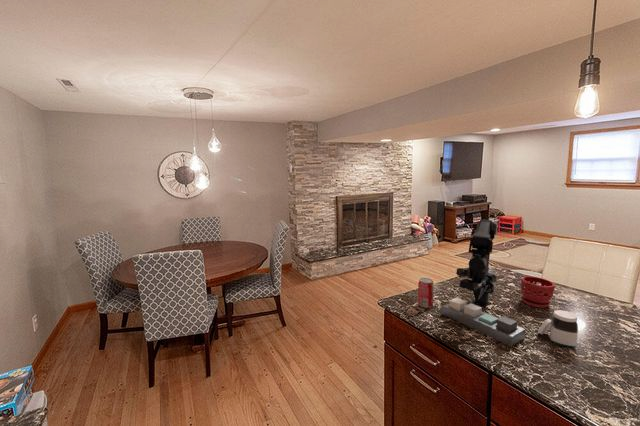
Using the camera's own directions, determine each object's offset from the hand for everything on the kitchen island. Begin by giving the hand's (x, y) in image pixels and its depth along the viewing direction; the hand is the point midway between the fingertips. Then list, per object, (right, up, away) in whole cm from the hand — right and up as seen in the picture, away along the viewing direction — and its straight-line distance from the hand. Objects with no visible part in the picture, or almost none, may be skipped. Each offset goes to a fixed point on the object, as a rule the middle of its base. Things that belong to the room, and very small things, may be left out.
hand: (476, 299), depth 127 cm
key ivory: (-4, -7, +8) cm, 12 cm away
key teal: (+3, -10, -3) cm, 11 cm away
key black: (+7, -9, -10) cm, 15 cm away
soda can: (-15, -9, +19) cm, 26 cm away
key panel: (+1, -11, 0) cm, 11 cm away
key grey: (-1, -8, +2) cm, 8 cm away
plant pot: (+39, -8, +19) cm, 44 cm away
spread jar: (+24, -13, -12) cm, 30 cm away
